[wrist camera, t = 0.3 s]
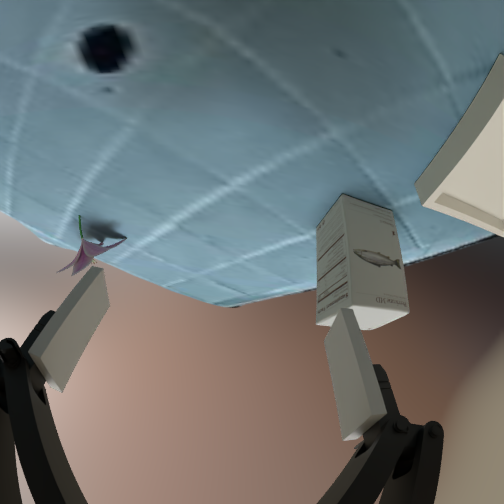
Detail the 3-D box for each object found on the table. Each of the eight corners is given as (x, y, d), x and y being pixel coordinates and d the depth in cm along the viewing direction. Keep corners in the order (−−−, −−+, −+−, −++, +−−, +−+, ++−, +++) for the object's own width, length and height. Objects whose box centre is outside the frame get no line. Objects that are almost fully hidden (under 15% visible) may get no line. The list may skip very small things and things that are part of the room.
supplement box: (393, 209, 28) (412, 313, 22) (361, 240, 35) (369, 332, 29) (341, 190, 27) (353, 306, 21) (313, 227, 34) (314, 327, 27)
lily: (74, 231, 42) (80, 283, 41) (37, 218, 30) (42, 282, 30) (129, 216, 43) (137, 271, 42) (101, 196, 32) (108, 267, 31)
